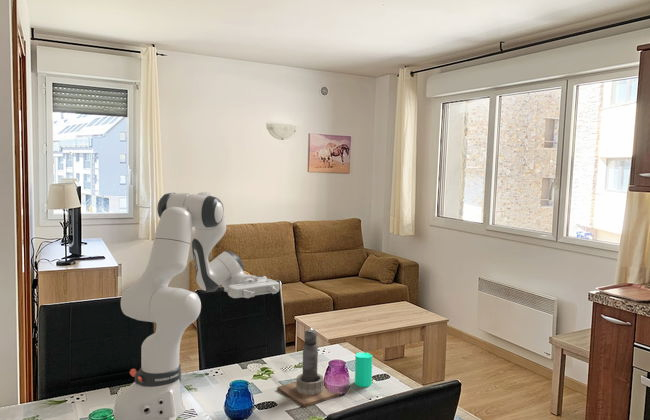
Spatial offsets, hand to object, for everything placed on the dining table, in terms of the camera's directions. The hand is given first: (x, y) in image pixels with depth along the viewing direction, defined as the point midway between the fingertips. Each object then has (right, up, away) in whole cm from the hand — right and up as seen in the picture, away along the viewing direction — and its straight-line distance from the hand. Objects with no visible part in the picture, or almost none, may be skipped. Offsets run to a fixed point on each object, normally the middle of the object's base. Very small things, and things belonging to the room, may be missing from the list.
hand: (264, 293), depth 185 cm
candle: (+36, -32, -6) cm, 48 cm away
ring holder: (+17, -31, -14) cm, 39 cm away
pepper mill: (+17, -30, -15) cm, 38 cm away
